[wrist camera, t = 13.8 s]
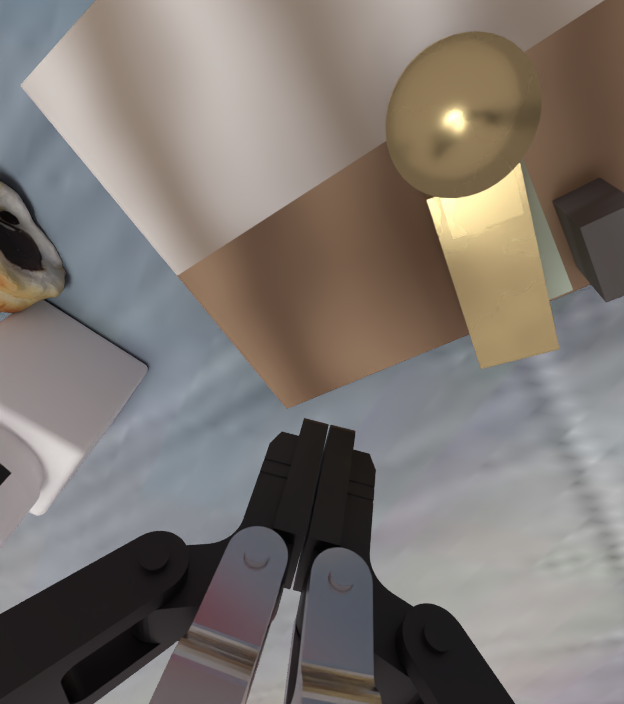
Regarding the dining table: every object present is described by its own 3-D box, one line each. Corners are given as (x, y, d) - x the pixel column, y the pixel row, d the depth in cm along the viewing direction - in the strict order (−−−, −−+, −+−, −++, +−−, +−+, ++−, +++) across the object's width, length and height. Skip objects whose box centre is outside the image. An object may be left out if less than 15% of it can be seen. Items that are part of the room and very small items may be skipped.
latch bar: (370, 72, 15) (364, 80, 11) (489, 9, 13) (524, -4, 10) (459, 334, 20) (474, 398, 16) (552, 308, 18) (590, 371, 15)
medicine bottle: (7, 369, 28) (-199, 540, 18) (38, 292, 24) (-201, 457, 15) (108, 428, 30) (-31, 613, 20) (152, 365, 26) (7, 555, 16)
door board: (666, -591, 9) (885, -1103, 5) (773, 184, 16) (898, 229, 12) (47, 82, 18) (-53, 92, 14) (292, 390, 26) (273, 455, 21)
